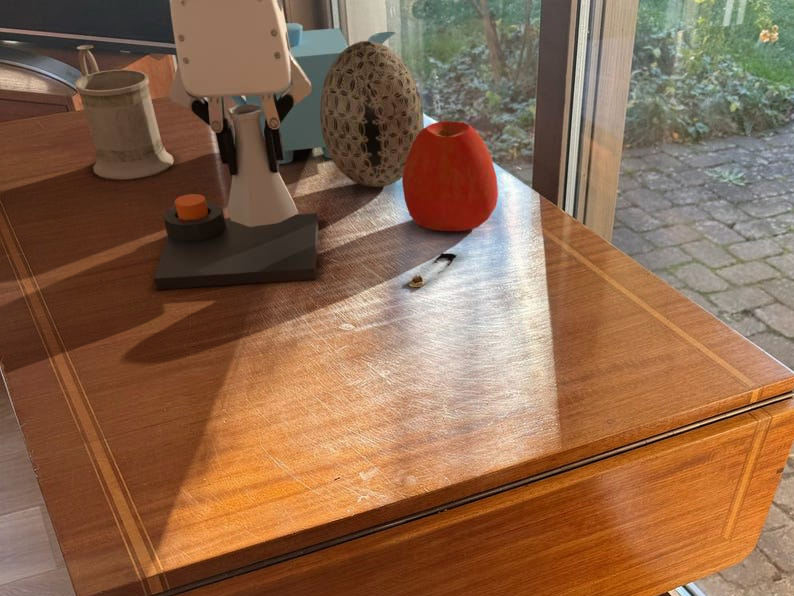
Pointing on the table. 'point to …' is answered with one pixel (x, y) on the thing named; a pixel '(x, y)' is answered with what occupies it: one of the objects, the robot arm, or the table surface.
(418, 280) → the fossil
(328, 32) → the teapot
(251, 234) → the scale
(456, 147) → the apple
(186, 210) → the button
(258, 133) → the flask
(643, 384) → the table surface
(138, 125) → the mug
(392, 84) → the decorative egg
